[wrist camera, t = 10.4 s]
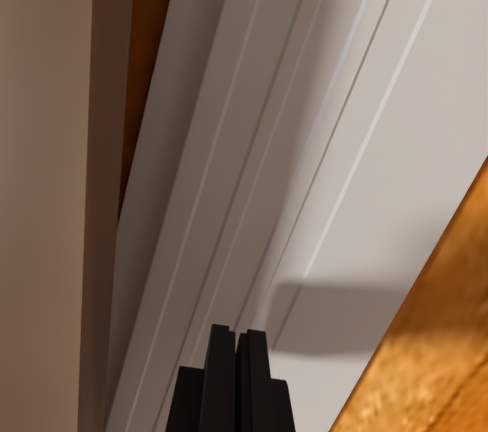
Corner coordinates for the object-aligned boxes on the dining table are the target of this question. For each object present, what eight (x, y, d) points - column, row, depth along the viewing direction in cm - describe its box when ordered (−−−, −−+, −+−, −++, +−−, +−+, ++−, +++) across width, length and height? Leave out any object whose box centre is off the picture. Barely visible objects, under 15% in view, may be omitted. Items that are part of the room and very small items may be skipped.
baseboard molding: (29, 498, 18) (245, 538, 19) (-9, 572, 15) (247, 612, 17) (190, -326, 8) (599, -114, 10) (165, -545, 5) (746, -199, 7)
